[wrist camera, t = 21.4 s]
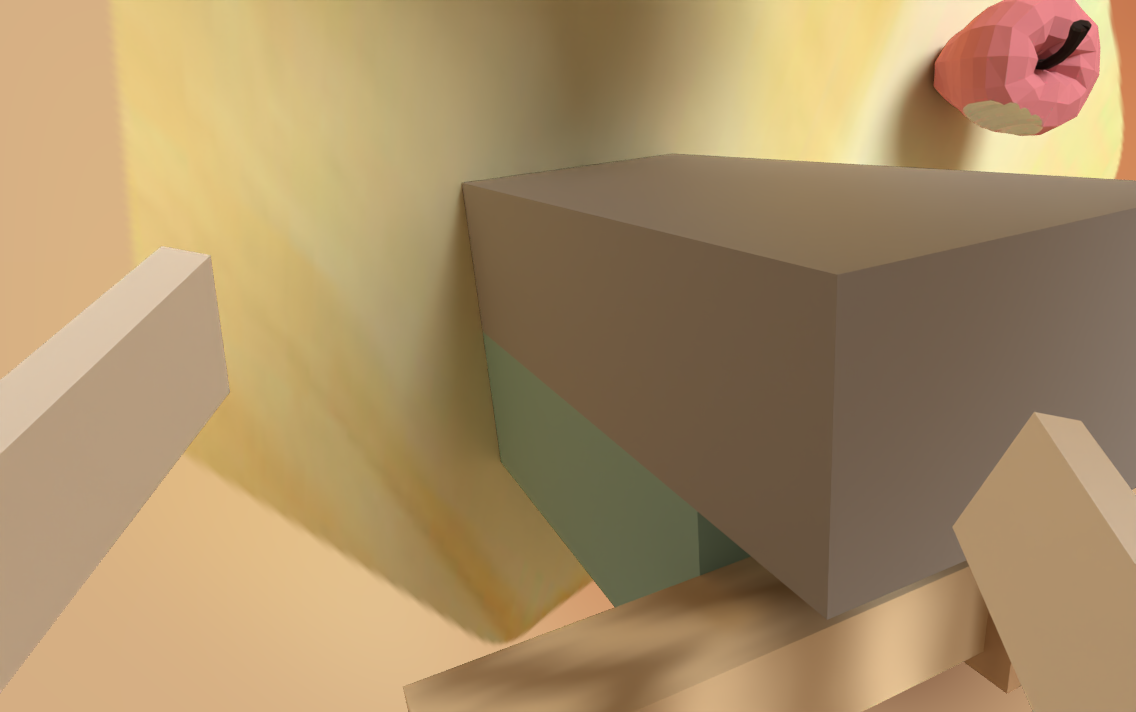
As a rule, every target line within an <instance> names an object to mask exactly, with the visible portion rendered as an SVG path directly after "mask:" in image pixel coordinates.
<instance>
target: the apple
mask: <svg viewBox="0 0 1136 712" xmlns="http://www.w3.org/2000/svg"><path fill="white" fill-rule="evenodd" d="M1099 66H1100V42H1099V33H1098V26H1097V25H1096V24H1095V22H1094V21H1093V20H1092V19H1091V18H1090V17H1089V16H1088V15H1087V14H1086V13H1085V12H1084V11H1083V10H1082V9H1081V7H1080V6H1079V5H1078V4H1077V2H1076V1H1075V0H1003V1H1001V2H999V3H997V4H995V5H993V6H990V7H988V8H987V9H986V10H984V11H983V12H982V13H981V14H979V15H978V16H977V17H975V18H974V19H973V20H972V21H971V22H970V23H969V24H968V25H967V26H966V27H965V28H964V29H963V30H961V31H960V32H958V33H957V34H956V35H954V36H953V37H952V38H951V39H950V40H949V41H948V42H947V44H946V45H945V47H944V48H943V50H942V51H941V53H940V55H939V57H938V58H937V60H936V62H935V77H934V85H933V86H934V88H935V89H936V90H937V91H938V93H939V94H940V95H941V96H942V97H943V98H944V99H945V100H946V101H948V102H949V103H950V104H951V105H953V106H954V107H956V108H957V109H958V110H959V111H960V112H961V113H962V114H963V115H964V116H965V117H967V118H968V119H970V120H971V121H972V122H974V123H975V124H977V125H979V126H980V127H982V128H986V129H989V130H991V131H994V132H1001V133H1008V134H1014V135H1019V136H1028V135H1041V134H1043V133H1045V132H1047V131H1049V130H1051V129H1053V128H1056V127H1058V126H1060V125H1062V124H1063V123H1065V122H1067V121H1069V120H1071V119H1073V118H1075V117H1077V115H1078V114H1079V112H1080V110H1081V108H1082V107H1083V105H1084V103H1085V101H1086V100H1087V98H1088V96H1089V94H1090V92H1091V90H1092V88H1093V86H1094V84H1095V82H1096V80H1097V78H1098V76H1099Z"/></svg>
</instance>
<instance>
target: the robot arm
mask: <svg viewBox="0 0 1136 712" xmlns="http://www.w3.org/2000/svg"><path fill="white" fill-rule="evenodd" d="M229 393H230V389H229V382H228V375H227V368H226V361H225V354H224V347H223V340H222V333H221V326H220V319H219V312H218V305H217V297H216V290H215V283H214V276H213V269H212V262H211V255H206V254H201V253H196V252H191V251H185V250H180V249H175V248H170V247H164V246H161V247H160V248H158V249H157V250H156V251H155V252H153V253H152V254H151V255H150V256H149V257H147V258H146V259H145V260H144V261H143V262H141V263H140V264H139V265H138V266H137V267H135V268H134V269H133V270H132V271H131V272H129V273H128V274H127V275H126V276H125V277H123V278H122V279H121V280H120V281H119V282H118V283H116V284H115V285H114V286H113V287H111V288H110V289H109V290H108V291H107V292H105V293H104V294H103V295H102V296H101V297H99V298H98V299H97V300H96V301H95V302H94V303H92V304H91V305H90V306H89V307H87V308H86V309H85V310H84V311H83V312H81V313H80V314H79V315H78V316H77V317H75V318H74V319H73V320H72V321H71V322H69V323H68V324H67V325H66V326H65V327H63V328H62V329H61V330H60V331H59V332H57V333H56V334H55V335H54V336H52V337H51V338H50V339H49V340H48V341H47V342H45V343H44V344H43V345H42V346H41V347H39V348H38V349H37V350H36V351H34V352H33V353H32V354H31V355H30V356H28V357H27V358H26V359H25V360H24V361H23V362H21V363H20V364H19V365H18V366H16V367H15V368H14V369H13V370H12V371H11V372H9V373H8V374H7V375H6V376H4V377H3V378H2V379H1V380H0V693H1V692H2V690H3V689H4V688H5V686H6V685H7V684H8V682H9V681H10V680H11V678H12V677H13V676H14V674H15V673H16V672H17V671H18V669H19V668H20V667H21V665H22V664H23V663H24V661H25V660H26V659H27V657H28V656H29V655H30V653H31V652H32V651H33V650H34V648H35V647H36V646H37V644H38V643H39V642H40V640H41V639H42V638H43V636H44V635H45V634H46V632H47V631H48V630H49V629H50V627H51V626H52V624H53V623H54V622H55V621H56V619H57V618H58V617H59V615H60V614H61V613H62V611H63V610H64V609H65V608H66V606H67V605H68V604H69V602H70V601H71V600H72V598H73V597H74V596H75V594H76V593H77V592H78V590H79V589H80V588H81V586H82V585H83V584H84V583H85V581H86V580H87V579H88V577H89V576H90V575H91V574H92V572H93V571H94V570H95V568H96V567H97V566H98V564H99V563H100V562H101V560H102V559H103V558H104V556H105V555H106V554H107V552H108V551H109V550H110V549H111V547H112V546H113V545H114V543H115V542H116V541H117V539H118V538H119V537H120V535H121V534H122V533H123V532H124V530H125V529H126V528H127V526H128V525H129V524H130V522H131V521H132V520H133V518H134V517H135V516H136V514H137V513H138V512H139V510H140V509H141V508H142V507H143V505H144V504H145V503H146V501H147V500H148V499H149V497H150V496H151V495H152V493H153V492H154V491H155V490H156V488H157V487H158V485H159V484H160V483H161V482H162V480H163V479H164V478H165V476H166V475H167V474H168V472H169V471H170V470H171V469H172V467H173V466H174V465H175V463H176V462H177V461H178V459H179V458H180V457H181V455H182V454H183V453H184V452H185V450H186V449H187V448H188V446H189V445H190V444H191V442H192V441H193V440H194V438H195V437H196V436H197V434H198V433H199V432H200V431H201V429H202V428H203V427H204V425H205V424H206V423H207V421H208V420H209V419H210V417H211V416H212V415H213V413H214V412H215V411H216V410H217V408H218V407H219V406H220V404H221V403H222V402H223V400H224V399H225V398H226V396H227V395H228V394H229ZM953 530H954V532H955V534H956V537H957V539H958V541H959V544H960V546H961V548H962V550H963V553H964V555H965V557H966V560H967V562H968V564H969V567H970V569H971V571H972V573H973V576H974V578H975V580H976V583H977V585H978V587H979V590H980V592H981V594H982V596H983V599H984V601H985V603H986V606H987V608H988V610H989V613H990V615H991V617H992V620H993V622H994V624H995V626H996V629H997V631H998V633H999V636H1000V638H1001V640H1002V643H1003V645H1004V647H1005V649H1006V652H1007V654H1008V656H1009V659H1010V661H1011V663H1012V666H1013V668H1014V670H1015V672H1016V675H1017V677H1018V679H1019V682H1020V684H1021V686H1022V689H1023V691H1024V693H1025V695H1026V698H1027V700H1028V702H1029V705H1030V707H1031V709H1032V711H1033V712H1136V495H1135V494H1134V492H1133V491H1132V489H1131V488H1130V487H1129V485H1128V484H1127V483H1126V481H1125V480H1124V479H1123V477H1122V476H1121V474H1120V473H1119V472H1118V470H1117V469H1116V468H1115V466H1114V465H1113V464H1112V462H1111V461H1110V460H1109V458H1108V457H1107V455H1106V454H1105V453H1104V451H1103V450H1102V449H1101V447H1100V446H1099V445H1098V443H1097V442H1096V440H1095V439H1094V438H1093V436H1092V435H1091V434H1090V432H1089V431H1088V430H1087V428H1086V427H1085V425H1084V424H1083V423H1082V421H1080V420H1074V419H1069V418H1064V417H1058V416H1053V415H1048V414H1043V413H1037V412H1034V413H1033V414H1032V415H1031V417H1030V418H1029V420H1028V421H1027V423H1026V424H1025V425H1024V427H1023V428H1022V430H1021V431H1020V432H1019V434H1018V435H1017V437H1016V438H1015V439H1014V441H1013V442H1012V444H1011V445H1010V446H1009V448H1008V449H1007V451H1006V452H1005V453H1004V455H1003V456H1002V458H1001V459H1000V460H999V462H998V463H997V465H996V466H995V467H994V469H993V470H992V472H991V473H990V475H989V476H988V477H987V479H986V480H985V482H984V483H983V484H982V486H981V487H980V489H979V490H978V491H977V493H976V494H975V496H974V497H973V498H972V500H971V501H970V503H969V504H968V505H967V507H966V508H965V510H964V511H963V512H962V514H961V515H960V517H959V518H958V520H957V521H956V522H955V524H954V525H953Z"/></svg>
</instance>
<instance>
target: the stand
mask: <svg viewBox="0 0 1136 712" xmlns="http://www.w3.org/2000/svg"><path fill="white" fill-rule="evenodd" d="M462 188H463V195H464V202H465V209H466V216H467V223H468V231H469V238H470V245H471V252H472V259H473V266H474V273H475V280H476V287H477V295H478V302H479V309H480V316H481V323H482V330H483V337H484V344H485V352H486V359H487V366H488V373H489V380H490V387H491V394H492V401H493V409H494V416H495V423H496V430H497V437H498V444H499V451H500V458H501V463H502V464H503V465H504V466H505V468H506V469H507V470H508V471H509V473H510V474H511V475H512V477H513V478H514V479H515V480H516V482H517V483H518V484H519V486H520V487H521V488H522V489H523V491H524V492H525V493H526V494H527V496H528V497H529V498H530V500H531V501H532V502H533V503H534V505H535V506H536V507H537V509H538V510H539V511H540V512H541V514H542V515H543V516H544V517H545V519H546V520H547V521H548V523H549V524H550V525H551V526H552V528H553V529H554V530H555V532H556V533H557V534H558V535H559V537H560V538H561V539H562V540H563V542H564V543H565V544H566V546H567V547H568V548H569V549H570V551H571V552H572V553H573V555H574V556H575V557H576V558H577V560H578V561H579V562H580V563H581V565H582V566H583V567H584V569H585V570H586V571H587V572H588V574H589V575H590V576H591V578H592V579H593V580H594V581H595V583H596V584H597V585H598V586H599V588H600V589H601V590H602V591H603V593H604V594H605V595H606V597H607V598H608V599H609V600H610V602H611V603H612V604H613V606H614V607H617V606H620V605H623V604H625V603H628V602H631V601H633V600H636V599H639V598H641V597H644V596H647V595H650V594H652V593H655V592H658V591H660V590H663V589H666V588H668V587H671V586H674V585H676V584H679V583H682V582H684V581H687V580H690V579H692V578H695V577H698V576H700V575H703V574H706V573H708V572H711V571H714V570H716V569H719V568H722V567H724V566H727V565H730V564H732V563H735V562H738V561H740V560H743V559H746V558H748V557H752V558H754V559H755V560H756V561H757V562H758V563H760V564H761V565H762V566H763V567H764V568H766V569H767V570H768V571H769V572H770V573H772V574H773V575H774V576H775V577H776V578H778V579H779V580H780V581H781V582H782V583H784V584H785V585H786V586H787V587H788V588H789V589H791V590H792V591H793V592H794V593H795V594H797V595H798V596H799V597H800V598H801V599H803V600H804V601H805V602H806V603H807V604H809V605H810V606H811V607H812V608H813V609H815V610H816V611H817V612H818V613H819V614H821V615H822V616H823V617H824V618H825V619H827V620H828V619H831V618H833V617H835V616H838V615H840V614H842V613H845V612H847V611H849V610H852V609H854V608H856V607H859V606H861V605H863V604H866V603H868V602H870V601H873V600H875V599H877V598H880V597H882V596H884V595H887V594H889V593H891V592H894V591H896V590H898V589H901V588H903V587H905V586H908V585H910V584H912V583H915V582H917V581H919V580H922V579H924V578H926V577H929V576H931V575H933V574H936V573H938V572H940V571H943V570H945V569H947V568H950V567H952V566H954V565H957V564H959V563H961V562H964V561H966V557H965V555H964V553H963V550H962V548H961V546H960V544H959V541H958V539H957V537H956V534H955V532H954V530H953V525H954V524H955V522H956V521H957V520H958V518H959V517H960V515H961V514H962V512H963V511H964V510H965V508H966V507H967V505H968V504H969V503H970V501H971V500H972V498H973V497H974V496H975V494H976V493H977V491H978V490H979V489H980V487H981V486H982V484H983V483H984V482H985V480H986V479H987V477H988V476H989V475H990V473H991V472H992V470H993V469H994V467H995V466H996V465H997V463H998V462H999V460H1000V459H1001V458H1002V456H1003V455H1004V453H1005V452H1006V451H1007V449H1008V448H1009V446H1010V445H1011V444H1012V442H1013V441H1014V439H1015V438H1016V437H1017V435H1018V434H1019V432H1020V431H1021V430H1022V428H1023V427H1024V425H1025V424H1026V423H1027V421H1028V420H1029V418H1030V417H1031V415H1032V414H1033V413H1034V412H1037V413H1043V414H1048V415H1053V416H1058V417H1064V418H1069V419H1074V420H1080V421H1082V423H1083V424H1084V425H1085V427H1086V428H1087V430H1088V431H1089V432H1090V434H1091V435H1092V436H1093V438H1094V439H1095V440H1096V442H1097V443H1098V445H1099V446H1100V447H1101V449H1102V450H1103V451H1104V453H1105V454H1106V455H1107V457H1108V458H1109V460H1110V461H1111V462H1112V464H1113V465H1114V466H1115V468H1116V469H1117V470H1118V472H1119V473H1120V474H1121V476H1122V477H1123V479H1124V480H1125V481H1126V483H1127V484H1128V485H1129V487H1130V488H1131V489H1134V488H1136V181H1133V180H1116V179H1099V178H1081V177H1064V176H1047V175H1030V174H1013V173H996V172H978V171H961V170H944V169H927V168H910V167H892V166H875V165H858V164H841V163H824V162H807V161H789V160H772V159H755V158H738V157H721V156H704V155H686V154H667V155H660V156H653V157H645V158H638V159H631V160H624V161H616V162H609V163H602V164H595V165H587V166H580V167H573V168H566V169H558V170H551V171H544V172H537V173H529V174H522V175H515V176H508V177H500V178H493V179H486V180H479V181H471V182H464V183H462Z"/></svg>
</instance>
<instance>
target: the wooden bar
mask: <svg viewBox="0 0 1136 712" xmlns="http://www.w3.org/2000/svg"><path fill="white" fill-rule="evenodd" d="M962 662H965V663H966V664H967V665H969V666H970V667H972V668H973V669H974V670H976V671H977V672H978V673H980V674H981V675H982V676H984V677H985V678H987V679H988V680H989V681H991V682H992V683H993V684H995V685H996V686H997V687H999V688H1000V689H1001V690H1003V691H1004V692H1006V693H1009V692H1011V691H1013V690H1014V689H1016V688H1018V687H1020V686H1021V684H1020V682H1019V679H1018V677H1017V675H1016V672H1015V670H1014V668H1013V666H1012V663H1011V661H1010V659H1009V656H1008V654H1007V652H1006V649H1005V647H1004V645H1003V643H1002V640H1001V638H1000V636H999V633H998V631H997V629H996V626H995V624H994V622H993V620H992V617H991V615H990V613H989V610H988V608H987V606H986V603H985V601H984V599H983V596H982V594H981V592H980V590H979V587H978V585H977V583H976V580H975V578H974V576H973V573H972V571H971V569H970V567H969V564H968V562H967V560H966V561H964V562H961V563H959V564H957V565H954V566H952V567H950V568H947V569H945V570H943V571H940V572H938V573H936V574H933V575H931V576H929V577H926V578H924V579H922V580H919V581H917V582H915V583H912V584H910V585H908V586H905V587H903V588H901V589H898V590H896V591H894V592H891V593H889V594H887V595H884V596H882V597H880V598H877V599H875V600H873V601H870V602H868V603H866V604H863V605H861V606H859V607H856V608H854V609H852V610H849V611H847V612H845V613H842V614H840V615H838V616H835V617H833V618H831V619H828V620H827V619H825V618H824V617H823V616H822V615H821V614H819V613H818V612H817V611H816V610H815V609H813V608H812V607H811V606H810V605H809V604H807V603H806V602H805V601H804V600H803V599H801V598H800V597H799V596H798V595H797V594H795V593H794V592H793V591H792V590H791V589H789V588H788V587H787V586H786V585H785V584H784V583H782V582H781V581H780V580H779V579H778V578H776V577H775V576H774V575H773V574H772V573H770V572H769V571H768V570H767V569H766V568H764V567H763V566H762V565H761V564H760V563H758V562H757V561H756V560H755V559H754V558H752V557H748V558H746V559H743V560H740V561H738V562H735V563H732V564H730V565H727V566H724V567H722V568H719V569H716V570H714V571H711V572H708V573H706V574H703V575H700V576H698V577H695V578H692V579H690V580H687V581H684V582H682V583H679V584H676V585H674V586H671V587H668V588H666V589H663V590H660V591H658V592H655V593H652V594H650V595H647V596H644V597H641V598H639V599H636V600H633V601H631V602H628V603H625V604H623V605H620V606H617V607H615V608H612V609H609V610H607V611H604V612H601V613H599V614H596V615H593V616H591V617H588V618H586V619H583V620H580V621H577V622H575V623H572V624H569V625H567V626H564V627H562V628H559V629H556V630H553V631H551V632H548V633H546V634H543V635H540V636H537V637H535V638H532V639H529V640H527V641H524V642H521V643H519V644H516V645H514V646H511V647H508V648H505V649H502V650H500V651H497V652H494V653H492V654H489V655H486V656H484V657H481V658H479V659H476V660H473V661H470V662H468V663H465V664H462V665H460V666H457V667H454V668H452V669H449V670H446V671H444V672H441V673H438V674H436V675H433V676H430V677H428V678H425V679H423V680H420V681H417V682H414V683H412V684H409V685H406V686H404V687H403V689H404V693H405V698H406V703H407V707H408V712H862V711H864V710H866V709H869V708H871V707H873V706H875V705H877V704H879V703H881V702H883V701H885V700H887V699H888V698H891V697H893V696H895V695H897V694H899V693H901V692H903V691H905V690H907V689H909V688H911V687H913V686H915V685H917V684H919V683H921V682H923V681H925V680H927V679H929V678H931V677H933V676H935V675H937V674H939V673H941V672H944V671H945V670H948V669H950V668H951V667H954V666H956V665H958V664H960V663H962Z"/></svg>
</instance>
